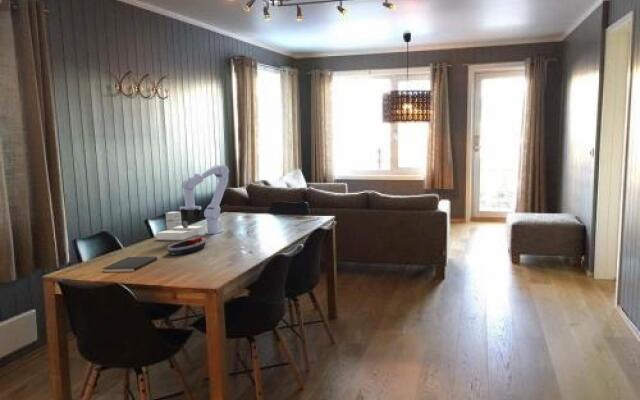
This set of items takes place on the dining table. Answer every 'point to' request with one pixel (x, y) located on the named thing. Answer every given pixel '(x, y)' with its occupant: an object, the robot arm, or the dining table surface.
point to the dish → (186, 246)
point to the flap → (185, 226)
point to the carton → (177, 234)
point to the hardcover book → (129, 264)
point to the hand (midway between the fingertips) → (191, 221)
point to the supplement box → (173, 220)
